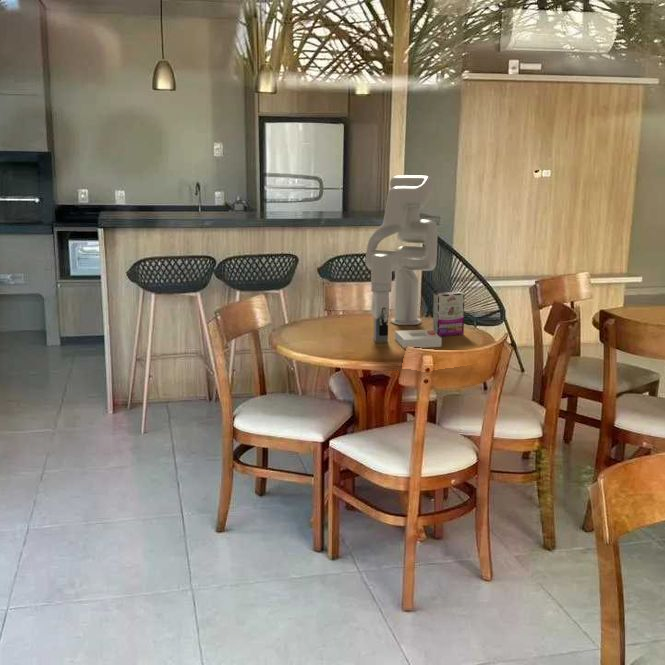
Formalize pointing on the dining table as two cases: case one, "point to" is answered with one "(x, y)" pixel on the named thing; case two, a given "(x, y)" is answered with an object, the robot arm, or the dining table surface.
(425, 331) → the socket plate
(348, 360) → the dining table surface
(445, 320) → the candy bar box
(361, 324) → the dining table surface
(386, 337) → the plug
